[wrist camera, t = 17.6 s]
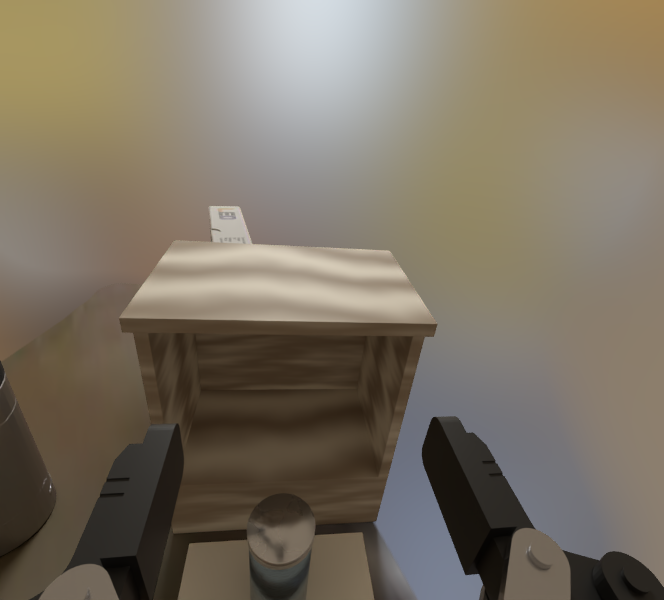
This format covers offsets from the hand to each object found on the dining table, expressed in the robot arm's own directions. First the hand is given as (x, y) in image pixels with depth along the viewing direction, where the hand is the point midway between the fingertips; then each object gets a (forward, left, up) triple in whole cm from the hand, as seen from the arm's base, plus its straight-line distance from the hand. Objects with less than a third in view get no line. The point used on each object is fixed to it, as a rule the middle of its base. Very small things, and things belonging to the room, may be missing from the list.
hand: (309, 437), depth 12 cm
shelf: (+14, +17, -32) cm, 39 cm away
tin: (+5, +7, -32) cm, 33 cm away
